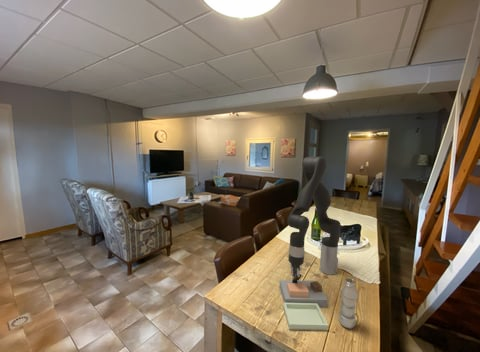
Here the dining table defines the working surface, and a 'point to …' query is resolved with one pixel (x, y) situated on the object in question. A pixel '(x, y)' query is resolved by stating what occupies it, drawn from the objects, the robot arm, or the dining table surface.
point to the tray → (304, 316)
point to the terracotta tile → (297, 290)
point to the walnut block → (316, 286)
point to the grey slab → (312, 297)
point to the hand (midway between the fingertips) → (294, 284)
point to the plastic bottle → (348, 304)
